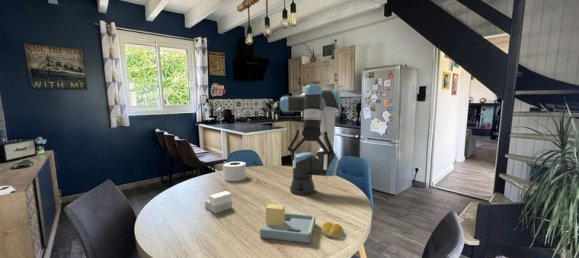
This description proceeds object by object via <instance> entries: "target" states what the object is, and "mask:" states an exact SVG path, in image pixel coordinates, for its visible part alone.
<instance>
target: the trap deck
mask: <svg viewBox="0 0 579 258" xmlns="http://www.w3.org/2000/svg"><path fill="white" fill-rule="evenodd" d="M315 227H316V213H313V215H311V214H310V215H309V214H299V213H290V212H289V213H288V212H285V223H284V224H283V226H282V227H281V226H272V225H266V223H265V224H264V226H263V227H260V229H259V232H260V233H259V234H260V236H259V237H260V239H262V240H263V239H265V240H272V241H273V240H274V241H281V242H282V241H283V242H288V243H289V242H290V243H299V244H307V245H310V244H311V243H312V239H313V236H314V235H313V234H314V231H315Z"/></svg>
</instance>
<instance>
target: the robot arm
mask: <svg viewBox="0 0 579 258" xmlns="http://www.w3.org/2000/svg"><path fill="white" fill-rule="evenodd" d="M340 94H341V93H340V91H339V90H337V89H329V90H326V89H325V90H323V87H322V86H321V85H318V84H308V85H306V86H305V88H304V92H303V93H302V94H301V95H299V94H298V95H293V96H287V95H286V96H282V97H281V98H280V101H279V108H280V110H281V112H285V113H286V112H287V113H289V112H290V113H291V112H295V113H296V112H303V119H304V120H303V123H302V124H303V125H302V130H299V129H296V131H295V135H294V136H293V138H292V140H291V141H290V143H289V145H288V147H287V148H286V150H287V151H288V152H290V159H291V161H292V162H291V163H292V180H291V184H290V187H289V192H290V193H291V194H294V195H297V196H308V195H309V196H310V195H313V194H314V193H315V192H316V186H315V184H314V180H313V176H319V177H334V176H335V175H336V173H337V170H338V166H339V157H338V156H336V155H337V154H336V152H335V151H334V149H335V148H334V145H335V132H336V131H335V128H336V125H335V124H336V114H337V113H338V112H339V110H340V109H342V107H341V106H342V105H341V104H342V103H341V96H340ZM300 135H302V136H303V137H302V138H301V140H299V142H298V143H297V144H296V143H295V142H296V141H297V139H298V137H299V136H300ZM305 141H307V142H310V141H311V142H317V143H318V146H319V147H318V150H317V151H316V152H315V155H313V153H312V152H310V151H309V152H305V151H304V152H299V153H297V152H296V151H297V150H298V149H299V148H300V147H301V145H302V144H303V143H304V142H305ZM294 144H296V145H295V146H294Z"/></svg>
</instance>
